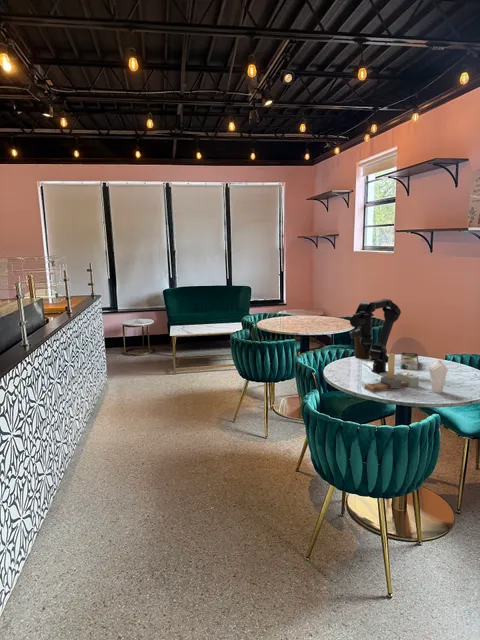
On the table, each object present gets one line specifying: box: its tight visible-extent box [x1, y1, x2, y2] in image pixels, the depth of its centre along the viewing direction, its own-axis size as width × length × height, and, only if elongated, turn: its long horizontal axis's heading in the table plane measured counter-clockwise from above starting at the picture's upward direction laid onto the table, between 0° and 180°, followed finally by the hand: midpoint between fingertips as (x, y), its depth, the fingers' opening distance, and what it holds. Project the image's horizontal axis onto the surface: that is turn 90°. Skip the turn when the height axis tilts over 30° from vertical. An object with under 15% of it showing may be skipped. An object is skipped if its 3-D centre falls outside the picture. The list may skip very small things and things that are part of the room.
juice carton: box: [399, 351, 419, 371], centre depth 252 cm, size 20×10×6 cm, turn 158°
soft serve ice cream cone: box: [428, 358, 449, 394], centre depth 202 cm, size 8×8×16 cm
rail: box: [364, 380, 409, 393], centre depth 211 cm, size 22×6×2 cm, turn 110°
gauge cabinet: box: [396, 371, 420, 388], centre depth 216 cm, size 5×10×6 cm, turn 20°
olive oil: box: [353, 326, 371, 360], centre depth 272 cm, size 11×11×25 cm
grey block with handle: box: [380, 352, 402, 389], centre depth 211 cm, size 6×8×16 cm
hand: (365, 353), depth 230 cm, fingers open, 9 cm apart
